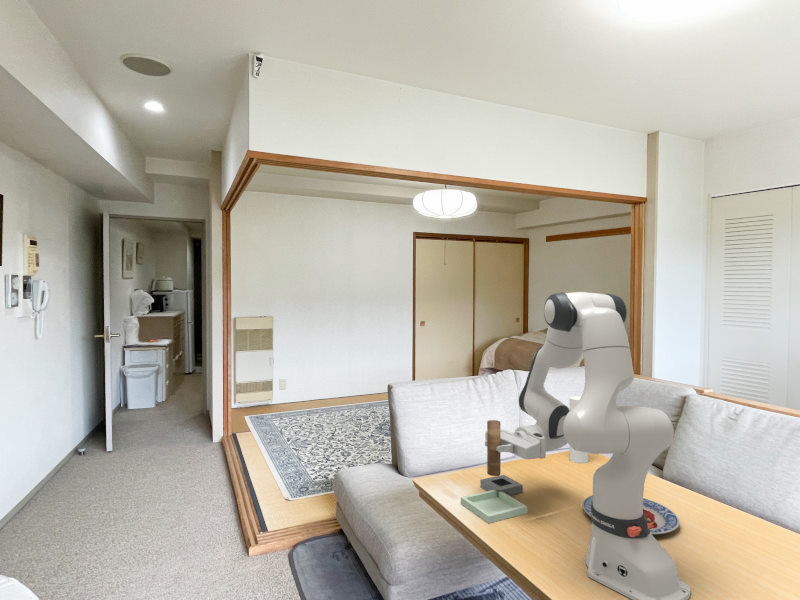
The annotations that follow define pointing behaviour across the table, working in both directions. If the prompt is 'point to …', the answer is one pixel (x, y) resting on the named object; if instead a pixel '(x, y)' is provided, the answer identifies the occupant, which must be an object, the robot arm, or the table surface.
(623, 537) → the robot arm
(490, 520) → the tray
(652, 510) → the ceramic plate
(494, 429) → the dowel
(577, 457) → the cylindrical container
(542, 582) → the table surface
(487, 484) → the socket block
